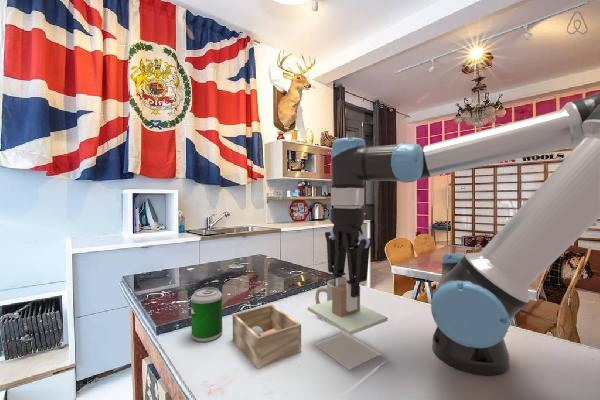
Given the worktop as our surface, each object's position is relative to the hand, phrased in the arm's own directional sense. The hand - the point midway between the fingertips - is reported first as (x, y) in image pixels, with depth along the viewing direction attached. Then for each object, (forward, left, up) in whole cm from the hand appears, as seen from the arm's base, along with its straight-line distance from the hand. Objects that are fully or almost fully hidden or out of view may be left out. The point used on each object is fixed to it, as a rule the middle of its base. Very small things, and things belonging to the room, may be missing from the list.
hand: (346, 306), depth 68 cm
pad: (0, 0, -11) cm, 11 cm away
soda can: (+25, +25, -11) cm, 37 cm away
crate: (+12, +15, -11) cm, 22 cm away
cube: (+9, +15, -10) cm, 20 cm away
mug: (+14, -9, -11) cm, 20 cm away
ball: (+15, +16, -10) cm, 24 cm away
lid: (0, 0, -2) cm, 2 cm away
